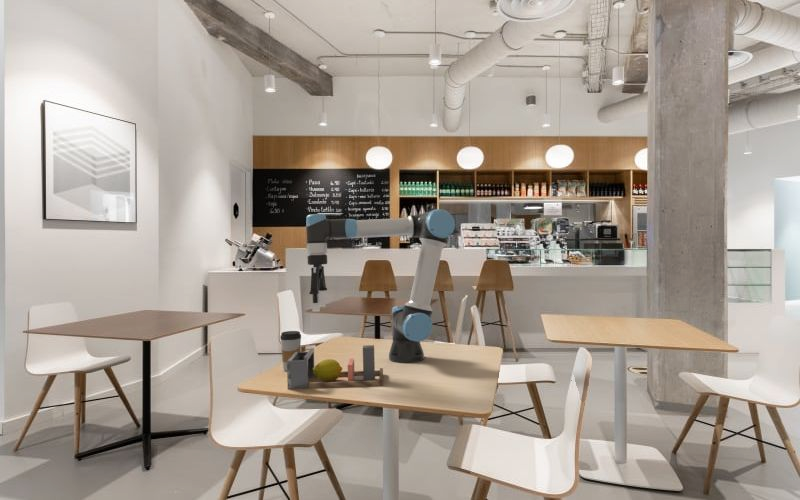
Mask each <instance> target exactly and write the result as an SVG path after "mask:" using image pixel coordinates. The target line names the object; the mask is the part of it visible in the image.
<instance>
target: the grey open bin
mask: <svg viewBox="0 0 800 500" xmlns="http://www.w3.org/2000/svg"><path fill="white" fill-rule="evenodd" d="M314 367H315V348H313V347H311V348H310V349H309V350H308V351H300V352H295V353H294V354H293V355H292V357H291V358H290V359H289V360H288V361H287V371H286V373H287V376H286V377H287V380H286V381H287V389H288V388H301V389H309V388H308V383H309V378H315V377H314V374H313V368H314Z"/></svg>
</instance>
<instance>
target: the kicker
mask: <svg viewBox="0 0 800 500" xmlns="http://www.w3.org/2000/svg"><path fill="white" fill-rule="evenodd" d="M375 364H376V363H375V345H374V344H371V345H369V344H368V345H362V368H363V369H362V371H363V376H354V371H355V358H354V357H353V358H349V360H348V364H347V371H348V376H347V381H375V380H376V375H375V369H376V367H375V366H376V365H375Z"/></svg>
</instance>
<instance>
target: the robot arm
mask: <svg viewBox="0 0 800 500" xmlns="http://www.w3.org/2000/svg"><path fill="white" fill-rule="evenodd" d="M305 218H306V220H305V221H306V222H305V223H306V225H305V229H306V230H305V231H306V246H305V249H306V251H307V254H308V255H307V265H309V266H311V265H312V267H311V268H310V270H311V276H310V277H311V278H310V290H309V292H308V293H309V295H311V309H312V310H311V311H312V313H316V312H317V313H319V312H321V308H326V307H327V304H326V291H328V287H327V286H326V285H327V284H326V279H325V278H326V276H325V266H324V265H327V264H328V255H327V253H328V243H327V240H330V239H333V240H337V241H338V240H348V239H363V238H364V239H365V238H366V239H367V238H381V237H401V236H402V237H403V236H407V237H409V238H411V239H412V238H419V241H420V243H421V246H420V251H419V256H418V261H417V264H416V269H415V273H414V279H413V283H412V288H411V292H410V297H409V301H407V302H406V303H404V305H397V306H396V305H395V306H393V307H392V309H391V323H392V324H391V330H392V342H391V346H390V350H389V354H388V359H389V361H392V362H394V363H395V362H396V363H415V362H419V361H422V360H424V359H425V352H424V349H423V348H422V344H421V342H422V341H425V340H426V339H427V338H429V337H430V335H431V334H432V331H433V322H432V315H433V308H432V307H431V301H432V297H433V292H434V288H435V284H436V278H437V274H438V270H439V267H440V266H439V265H440V260H441V257H442V251H443V248H445V247H446V246H448V242H449V237H450V236H451V235H452V234H453V232H454V230H455V227H456V225H455V224H456V223H455V219H454V217H453V215H452V214H451V213H450V212H449V211H447V210H444V209H440V208H436V209H432V210H430V211H425V212H423V213H420V214H419V213H418V214H413V215H412V214H411V215H408V216H407V217H400V218H398V217H397V218H380V219H379V218H378V219H377V218H376V219H361V220H359V219H355V218H338V219H337V218H336V219H329V218H327V216H326V214H324V213H313V214H308V215H306V217H305Z"/></svg>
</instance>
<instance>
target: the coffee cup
mask: <svg viewBox="0 0 800 500" xmlns="http://www.w3.org/2000/svg"><path fill="white" fill-rule="evenodd" d="M279 340H280V344H281V345H280V347H281V359H282V368H283V371H284V372H287V361H288V360H289V359H290V358H291V357H292V355H293V354H294V353H295V352H301V348H302V347H301V341H302V334H301V332H300V331H299V330H288V331H283V332H282V331H281V334H280V339H279Z"/></svg>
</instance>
